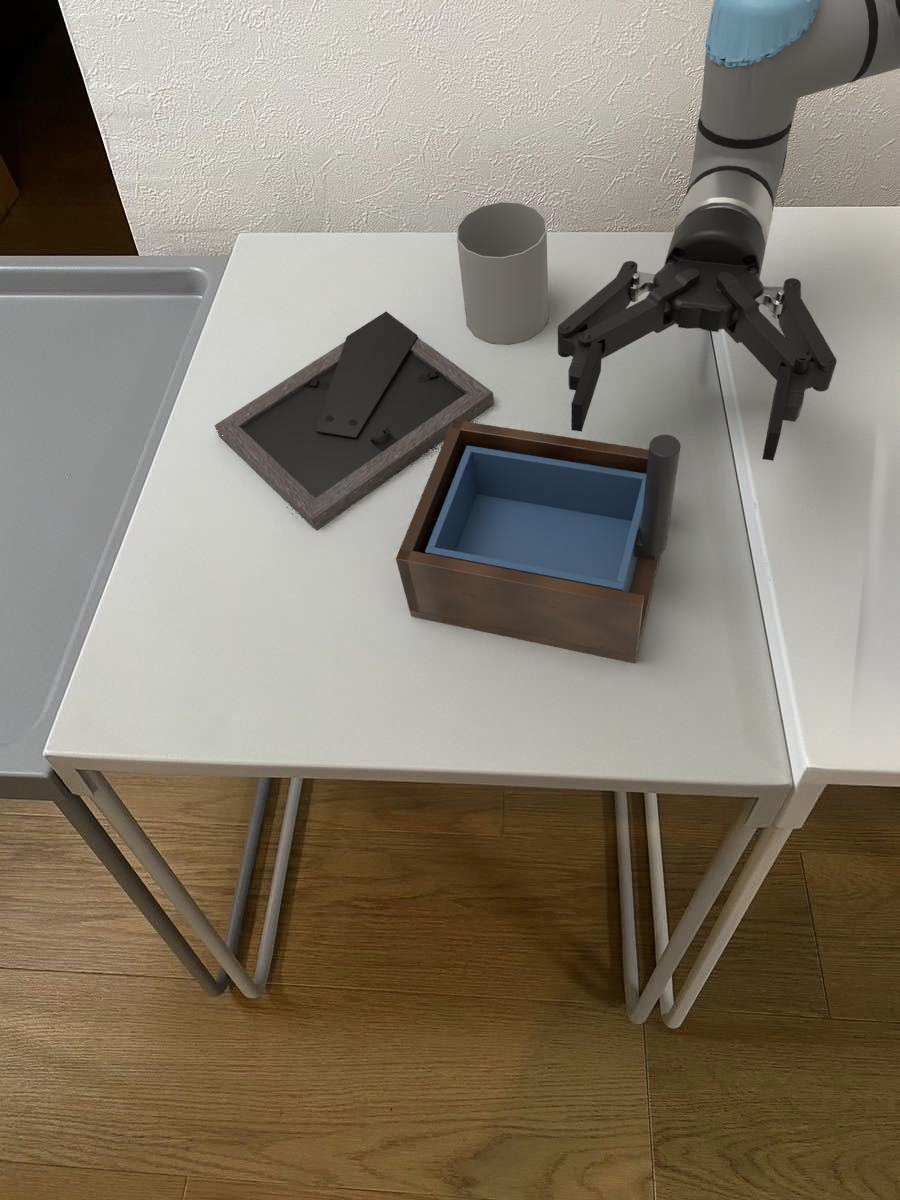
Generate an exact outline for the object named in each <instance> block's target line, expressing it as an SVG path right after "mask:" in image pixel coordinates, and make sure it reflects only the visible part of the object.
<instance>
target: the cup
mask: <svg viewBox="0 0 900 1200" xmlns="http://www.w3.org/2000/svg"><path fill="white" fill-rule="evenodd" d="M547 231H548V230H547V218H546V217H544V215H543V214H542V213H541V212H540V211H539V210H538V209H537V208H535V207H533V206H530V205H527V204H525V203H522V202H515V201H514V202H513V201H497V202H494V203H488V204H485V205H481V206H479V207H477V208H475V209H474V210H471V211H470V212H469V213H466V214H465V216H463V218H462V219H461V220H460V222H459V223H458V225H457V226H456V244H457V252H458V260H459V269H460V276H461V277H460V278H461V287H462V297H463V304H464V313H465V321H466V327H467V328H468V330H470V332H471V333H472V334H473V336H474V337H476V338H478V339H480V340H482V341H484V342H486V343H488V344H496V345H497V344H498V345H507V346H508V345H512V344H517V343H521V342H525V341H528V340H529V339H531V338H533V337H535V336H536V335H537V334H540V333H541V332H542V331H543V329H544V328H545V326H546V324H547V322H548V321H549V320H550V317H549V316H550V315H549V313H550V311H549V277H548V276H549V274H548V270H549V269H548V233H547Z"/></svg>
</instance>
